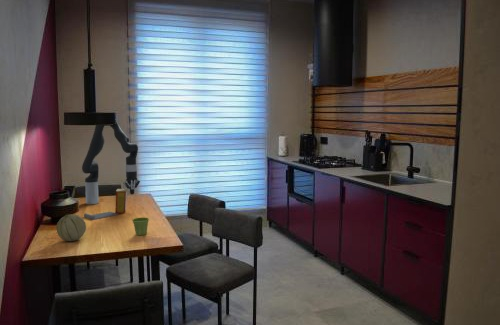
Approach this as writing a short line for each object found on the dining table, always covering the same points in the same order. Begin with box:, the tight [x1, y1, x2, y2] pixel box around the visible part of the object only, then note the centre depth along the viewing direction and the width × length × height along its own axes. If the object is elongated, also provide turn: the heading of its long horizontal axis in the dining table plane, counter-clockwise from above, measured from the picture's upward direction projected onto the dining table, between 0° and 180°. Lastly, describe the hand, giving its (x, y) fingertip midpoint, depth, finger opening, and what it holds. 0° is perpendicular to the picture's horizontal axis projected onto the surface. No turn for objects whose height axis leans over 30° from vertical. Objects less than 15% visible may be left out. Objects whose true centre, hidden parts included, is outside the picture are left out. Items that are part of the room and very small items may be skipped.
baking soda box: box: [114, 188, 128, 214], centre depth 293 cm, size 10×6×16 cm
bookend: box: [83, 211, 120, 221], centre depth 283 cm, size 12×19×2 cm, turn 139°
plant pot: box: [132, 217, 150, 236], centre depth 237 cm, size 9×9×9 cm
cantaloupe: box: [56, 213, 87, 242], centre depth 225 cm, size 15×15×15 cm
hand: (132, 194), depth 300 cm, fingers closed
